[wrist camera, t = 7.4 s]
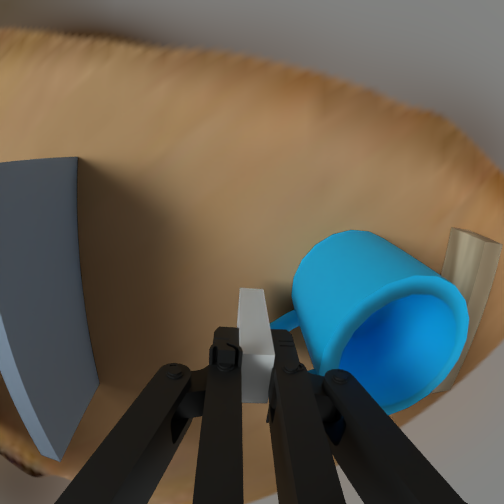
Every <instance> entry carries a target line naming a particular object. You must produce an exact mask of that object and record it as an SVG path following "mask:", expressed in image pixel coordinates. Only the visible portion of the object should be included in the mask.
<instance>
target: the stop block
mask: <svg viewBox="0 0 504 504" xmlns="http://www.w3.org/2000/svg"><path fill="white" fill-rule="evenodd" d="M502 245H503V244H500V243H498V242H496V241H494V240H491V239H489V238H487V237H484V236H482V235H479V234H477V233H475V232H472V231H470V230H465V229H459V228H453V227H452V228H451V233H450V238H449V242H448V247H447V252H446V256H445V260H444V264H443V268H442V272H441V276H442V277H444V278H445V279H447V280H448V281H450V282H451V283H452V284H454V285H455V286H456V287H457V289H458V290H459V292H460V293H461V294H462V296H463V297H464V299H465V300H466V305H467V310H468V315H469V325H468V333H467V340H466V342H465V345H464V347H463V350H462V352H461V354H460V357H459V359H458V361H457V362H456V364H455V365H454V367H453V368H452V370H451V371H450V373H449V374H448V375H447V377H446V378H445V379H444V380H443V381H442V382H441V383H440V384H439V385H438V386H437V387H436V388H435V389H434V390H433V391H432V392H431V393H437V392H442V391H447V390H450V389H451V387H452V385H453V383H454V381H455V379H456V377H457V375H458V373H459V371H460V369H461V366H462V364H463V362H464V360H465V357H466V355H467V353H468V350H469V348H470V346H471V343H472V341H473V338H474V336H475V333H476V331H477V328H478V325H479V323H480V320H481V317H482V314H483V311H484V309H485V306H486V303H487V299H488V296H489V293H490V290H491V287H492V283H493V280H494V276H495V273H496V269H497V265H498V261H499V257H500V253H501V249H502Z"/></svg>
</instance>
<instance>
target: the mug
mask: <svg viewBox="0 0 504 504" xmlns="http://www.w3.org/2000/svg"><path fill="white" fill-rule="evenodd" d="M291 296H292V301H293V305H294V310H292V311H290V312H288V313H286V314H284V315H283V316H281V317H280V318H278V319H276V320H275V321H273V322H272V323H270V329H286V330H287V331H288V332H289V331H291V330H292V329H294V328H296V327H298V326H300V328H301V331H302V334H303V337H304V340H305V343H306V346H307V349H308V352H309V355H310V358H311V361H312V364H313V367H314V369H312V370H309V371H307V372H309V373H312V374H315V375H320V376H325V373H326V372H327V371H329V370H332V369H342V370H345V371H348V372H350V373H351V374H352V375H353V376H354V377H355V378H356V379H357V380H358V382H359V383H360V384H361V385H362V386H363V387H364V388H365V390H366V391H367V392H368V393H369V394H370V395H371V396H372V398H373V399H374V400H375V401H376V402H377V403H378V404H379V406H380V407H381V408H382V409H383V410H384V411H385V412H386V414H387V415H390V414H393V413H396V412H398V411H401V410H403V409H406V408H408V407H410V406H412V405H413V404H415V403H417V402H418V401H420V400H421V399H423V398H424V397H426V396H427V395H429V394H430V393H431V392H432V391H433V390H434V389H435V388H436V387H437V386H438V385H439V384H440V383H441V382H442V381H443V380H444V379H445V378H446V377H447V375H448V374H449V373H450V371H451V370H452V368H453V367H454V365H455V364H456V362H457V361H458V359H459V357H460V354H461V352H462V350H463V347H464V345H465V342H466V340H467V333H468V325H469V315H468V310H467V305H466V300H465V299H464V297H463V296H462V294H461V293H460V292H459V290H458V289H457V287H456V286H455V285H454V284H452V283H451V282H450V281H448V280H447V279H445V278H444V277H442V276H441V275H439V274H438V273H436V272H435V271H433V270H432V269H430V268H429V267H427V266H426V265H424V264H423V263H421V262H420V261H418V260H417V259H415V258H414V257H412V256H411V255H409V254H407V253H406V252H404V251H403V250H401V249H400V248H398V247H396V246H395V245H393V244H392V243H390V242H388V241H387V240H385V239H383V238H381V237H379V236H377V235H375V234H373V233H371V232H369V231H358V230H349V231H345V232H341V233H337V234H333V235H331V236H329V237H328V238H326V239H324V240H323V241H321V242H319V243H318V244H316V245H315V246H314V247H313V248H312V249H311V250H310V252H309V253H308V254H307V255H306V256H305V257H304V258H303V259H302V261H301V263H300V265H299V267H298V269H297V272H296V274H295V276H294V279H293V287H292V294H291Z"/></svg>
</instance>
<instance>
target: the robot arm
mask: <svg viewBox="0 0 504 504" xmlns="http://www.w3.org/2000/svg"><path fill="white" fill-rule="evenodd" d="M268 397H269V409H268V414H267V420H266V423H269V424H270V433H271V441H272V450H273V458H274V467H275V475H276V484H277V492H278V500H279V504H346V502H345V499H344V495H343V491H342V488H341V485H340V481H339V478H338V474H337V470H336V467H335V463H334V460H333V456H334V458H335V459H336V461H337V462H338V464H339V466H340V467H341V469H342V470H343V472H344V473H345V475H346V476H347V478H348V480H349V481H350V483H351V484H352V486H353V487H354V488H355V490H356V492H357V493H358V495H359V496H360V498H361V499H362V501H363V502H364V504H468V503H466V502H464V501H463V500H462V498H460V496H459V495H458V494H457V493H456V492H455V491H454V490H453V488H452V487H451V486H450V485H449V484H448V483H447V482H446V480H445V479H444V478H443V477H442V476H441V475H440V474H439V473H438V471H437V470H436V469H435V468H434V467H433V466H432V465H431V464H430V462H429V461H428V460H427V459H426V458H425V457H424V456H423V454H422V453H421V452H420V451H419V450H418V449H417V448H416V447H415V445H414V444H413V443H412V442H411V441H410V440H409V439H408V437H407V436H406V435H405V434H404V433H403V432H402V431H401V429H400V428H399V427H398V426H397V425H396V424H395V423H394V422H393V420H392V419H391V418H390V417H389V416H388V415H387V414H386V412H385V411H384V410H383V409H382V408H381V407H380V406H379V404H378V403H377V402H376V401H375V400H374V399H373V398H372V396H371V395H370V394H369V393H368V392H367V391H366V390H365V388H364V387H363V386H362V385H361V384H360V383H359V382H358V380H357V379H356V378H355V377H354V376H353V375H352V374H351V373H350V372H348V371H345V370H342V369H332V370H329V371H327V372H326V373H325V376H320V375H315V374H312V373H309V372H307V369H306V367H305V366H304V365H303V364H302V363H300V362H299V358H298V355H297V351H296V348H295V344H294V342H293V337H292V335H291V334H290V333H289V332H288V331H287V330H286V329H270V324H269V318H268V313H267V307H266V301H265V296H264V290H263V289H251V288H240V294H239V307H238V320H237V328H233V327H218V328H217V329H216V331H215V332H214V339H213V345H211V347H210V349H209V365H208V366H207V367H205V368H204V369H201V370H197V371H190V369H189V368H188V367H187V366H185V365H182V364H178V363H171V364H167V365H164V366H162V367H161V368H160V369H159V370H158V372H157V373H156V374H155V375H154V377H153V378H152V379H151V381H150V382H149V383H148V384H147V386H146V387H145V388H144V389H143V391H142V392H141V393H140V395H139V396H138V397H137V398H136V400H135V401H134V402H133V404H132V405H131V406H130V407H129V409H128V410H127V411H126V412H125V414H124V415H123V416H122V418H121V419H120V420H119V421H118V423H117V424H116V425H115V427H114V428H113V429H112V430H111V432H110V433H109V434H108V436H107V437H106V438H105V439H104V441H103V442H102V443H101V444H100V446H99V447H98V448H97V450H96V451H95V452H94V453H93V455H92V456H91V457H90V459H89V460H88V461H87V462H86V464H85V465H84V466H83V468H82V469H81V470H80V471H79V473H78V474H77V475H76V477H75V478H74V479H73V480H72V482H71V483H70V484H69V486H68V487H67V488H66V489H65V491H64V492H63V493H62V494H61V496H60V497H59V498H58V500H57V501H56V502H55V503H54V504H147V503H148V501H149V500H150V498H151V496H152V494H153V492H154V490H155V489H156V487H157V485H158V483H159V481H160V480H161V478H162V476H163V474H164V472H165V470H166V469H167V467H168V465H169V463H170V461H171V459H172V457H173V456H174V454H175V452H176V450H177V448H178V446H179V444H180V443H181V441H182V439H183V437H184V435H185V433H186V431H187V429H188V428H189V426H190V424H191V422H192V419H193V417H200V416H202V424H201V432H200V441H199V449H198V458H197V467H196V476H195V485H194V495H193V504H244V500H243V450H242V403H267V402H268ZM332 455H333V456H332Z"/></svg>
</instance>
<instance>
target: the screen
mask: <svg viewBox="0 0 504 504" xmlns="http://www.w3.org/2000/svg"><path fill="white" fill-rule="evenodd" d="M77 165H78V157H61V158H44V159H31V160H21V161H11V162H2V163H0V371H1V374H2V376H3V379H4V381H5V384H6V386H7V388H8V391H9V393H10V395H11V397H12V400H13V402H14V404H15V406H16V408H17V410H18V412H19V414H20V417H21V419H22V421H23V422H24V424H25V426H26V428H27V430H28V432H29V434H30V436H31V438H32V439H33V441H34V443H35V445H36V446H37V448H38V450H39V452H40V453H41V455H43V456H46V457H48V458H51V459H54V460H57V461H59V462H61V460H62V457H63V455H64V453H65V451H66V449H67V447H68V445H69V443H70V441H71V438H72V436H73V434H74V432H75V430H76V428H77V426H78V424H79V422H80V420H81V418H82V416H83V414H84V412H85V410H86V408H87V407H88V405H89V403H90V401H91V399H92V397H93V395H94V393H95V391H96V389H97V387H98V386H99V384H100V383H99V379H98V375H97V370H96V366H95V361H94V357H93V352H92V346H91V341H90V336H89V330H88V324H87V318H86V311H85V304H84V296H83V288H82V279H81V269H80V258H79V243H78V223H77Z"/></svg>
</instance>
